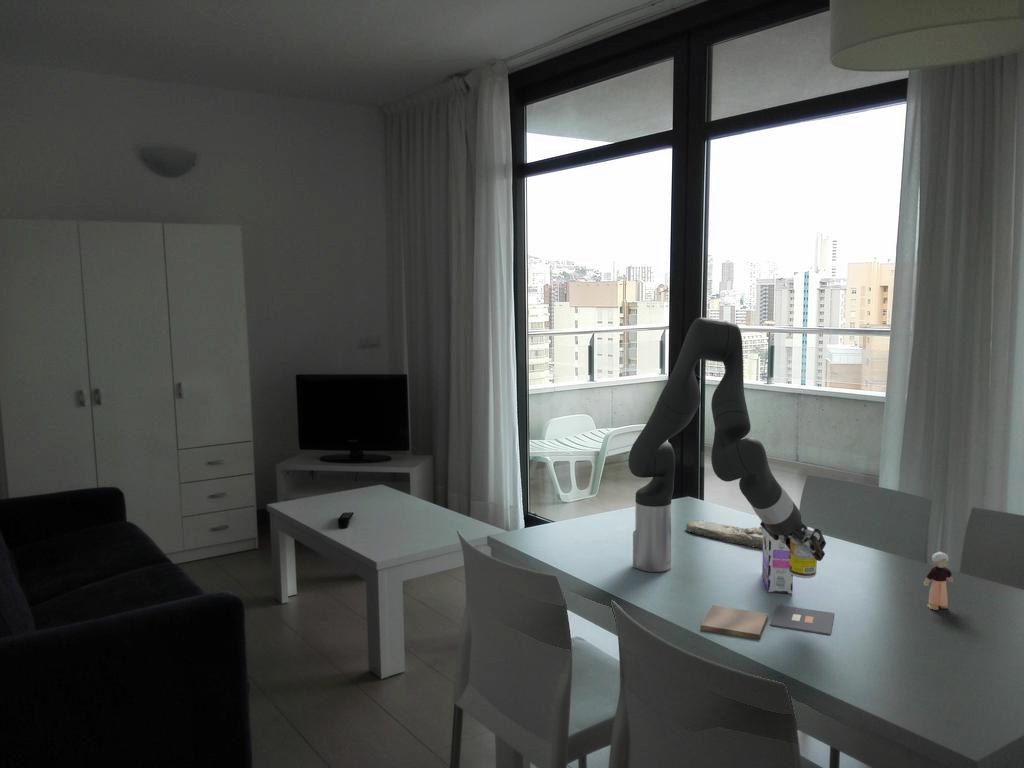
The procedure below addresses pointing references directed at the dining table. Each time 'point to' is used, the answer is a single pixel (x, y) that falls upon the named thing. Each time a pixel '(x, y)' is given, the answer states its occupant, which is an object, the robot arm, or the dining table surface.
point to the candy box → (776, 565)
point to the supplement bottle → (802, 560)
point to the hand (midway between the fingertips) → (808, 553)
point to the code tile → (803, 619)
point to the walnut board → (735, 622)
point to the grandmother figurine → (938, 581)
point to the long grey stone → (728, 533)
